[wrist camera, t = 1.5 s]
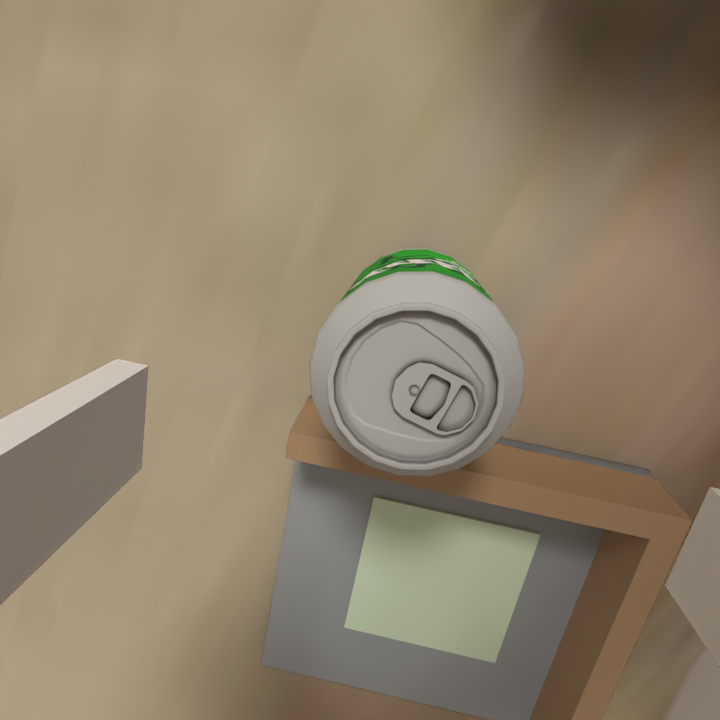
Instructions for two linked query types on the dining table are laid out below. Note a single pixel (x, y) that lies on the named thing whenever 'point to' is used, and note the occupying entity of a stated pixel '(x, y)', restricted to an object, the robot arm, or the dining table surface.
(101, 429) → the robot arm
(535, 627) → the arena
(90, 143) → the dining table surface
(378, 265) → the soda can
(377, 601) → the pad
